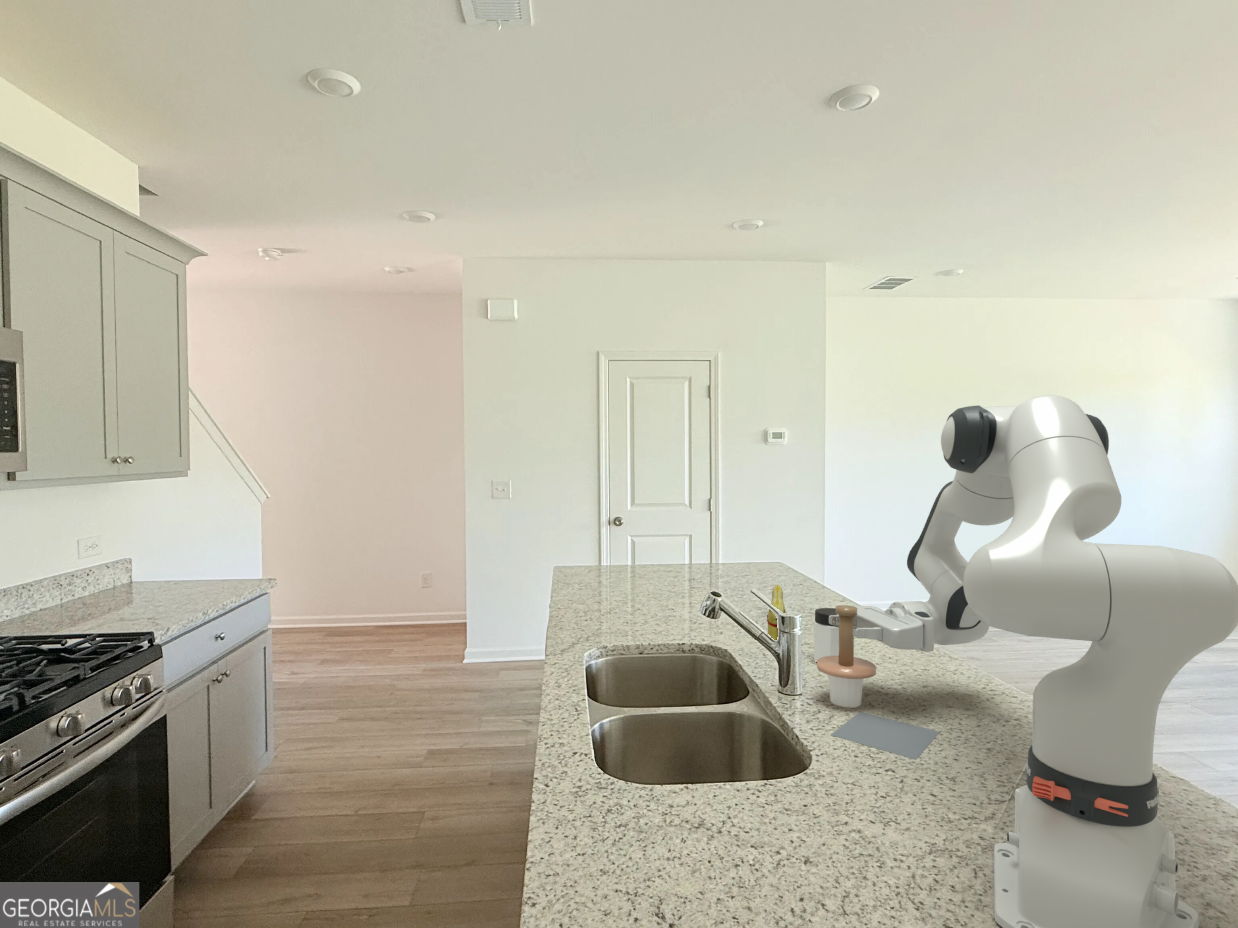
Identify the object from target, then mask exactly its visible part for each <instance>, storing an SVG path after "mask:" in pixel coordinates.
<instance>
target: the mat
mask: <svg viewBox="0 0 1238 928" xmlns="http://www.w3.org/2000/svg"><path fill="white" fill-rule="evenodd" d="M940 733H941V731H939V730H934V729H931V728H927V727H922V726H919V725H914V724H912V723H908V722H907V723H906V722H903V721H900V720H895V719H891V718H887V717H884V716H879V715H876V714H871V713H867V712H864V711H862V710H861V711H859V712H857V713H856V714H855V715H854V716H853V717H851V718H849V719H848V721H846V722H845V723H843V725H841V726H840V727H839V728H837V729H836V730H835V731H833V732H832V733H831V734H830V736H833V737H836V738H837V739H838V738H840V739H842V740H846V741H849V742H851V743H852V742H853V743H856V744H860V745H864V746H867V747H870V748H873V749H878V750H881V751H884V752H887V753H890V754H895V755H899V756H901V757H905V758H908V759H912V760H914V761H915V760H917V759H918V758H919V757H920V756H921V754H923V752H924V751H925V750H926V749H927V748H928V747H929V745H930V744H931V743H932V742H933V741H934V740H935V739H936V738H937V737H938V736H939V734H940Z"/></svg>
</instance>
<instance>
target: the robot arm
mask: <svg viewBox="0 0 1238 928" xmlns="http://www.w3.org/2000/svg"><path fill="white" fill-rule="evenodd" d="M940 445H941V446H940V447H941V450H942V454H943V455H942V456H943V459H944V461H945V462H946V463H947V464H948V466H949V467H950V468H951V469H954V470H956V471H955V474H954V478H953V480H952V481H949V482H947V483H946V484H945V485H943V487H941V489H940V491H939V492H938V494H937V495H936V497H935V499H934V502H933V504H932V506H931V509H930V511H929V513H928V516H927V519H926V521H925V524H924V525H923V528H922V531H921V533H920V535H919V538H918V539H917V541H916V542H915V543H914V544H913V546H912V547H911V549H910V550H909V552H908V555H907V559H906V566H907V569H908V570H909V572H910V573H911V574H912V576H914V578H916V580H917V581H919V582H920V584H921V585H922V586H923V587H924V589H925V590H926V591H927V592H928V594H929V595H930V596H929V599H928V600H927V601H920V600H909V601H908V600H907V601H906V600H905V601H904V600H903V601H894V602H892V603H891V604H890V605H889V607H888V608H886V609H884V610H883V609H881V608H879V607H876V606H872V605H853V606H854V607H856V608H857V615H856V616H854V628H853V636H854V638H857V639H867V640H873V641H874V640H875V641H878V642H880V643H882V644H884V645H886V646H888V647H890V648H893V649H897V650H913V651H915V650H916V651H917V650H918V651H922V652H924V653H931V652H934V651H935V650H934V649H935V645H938V646H939V645H940V646H953V645H962V644H963V645H964V644H968V643H973V642H976V641H978V640H981V639H982V638H983V637H985V636H986V634H988V631H989V628H990V627H991V628H995V629H998V630H1001V631H1006V632H1009V633H1014V634H1018V635H1022V636H1026V637H1034V638H1035V637H1036V638H1047V639H1061V640H1072V641H1073V640H1075V641H1084V642H1085V641H1086V642H1091V643H1090V646H1089V648H1088V650H1087V651H1086V652H1085V653H1084V655H1083V656H1081V658H1079V659H1078V660H1077V661H1075V662H1073V663H1072V664H1069V665H1066V666H1063V667H1061V668H1057V669H1055V670H1051V671H1050V672H1048V673H1047V674H1046V675H1044V676H1043V677H1042V678H1041V679H1040V680H1039V682H1038V683H1037V684H1036V685H1035V688H1034V690H1033V693H1032V738H1031V739H1032V745H1031V746H1030V747H1029V748H1028V752H1027V758H1026V764H1025V765H1026V766H1025V771H1026V783H1025V785H1023V786H1021V787H1019V788H1016V789H1015V791H1014V793H1015V794H1014V831H1008V833H1006V835H1007V837H1006V838H1007V840H1006V842H998V843H996V844H994V847H993V854H992V855H993V857H992V858H993V859H992V860H993V901H994V902H993V905H994V906H993V907H994V909H993V911H994V912H993V913H994V920H995V922H996V923H997V924H998V925H999V926H1000V927H1002V928H1200V923H1201V922H1200V917H1199V916H1200V915H1199V913H1198V911H1196V910H1195V909H1194V908H1193V907H1192V906H1190V905H1188V904H1187V903H1186V902H1184V901H1183V900H1181V899H1179V891H1178V890H1177V889H1176V876H1177V874H1178V869H1179V862H1178V860H1176V847H1175V846H1176V842H1175V841H1176V839H1175V835H1174V834H1173V833H1172V832H1171V831H1170V830H1169V828H1167V827H1166V826H1165V825H1164V824H1163V823H1162V821H1161V820H1160V819H1159V817H1158V816H1157V815H1158V812H1159V806H1158V805H1159V800H1160V792H1159V787H1158V777H1157V776H1156V775H1155V773H1154V772H1153V765H1154V764H1153V763H1154V743H1155V734H1156V733H1155V732H1156V731H1155V730H1156V725H1157V724H1156V723H1157V715H1158V710H1159V707H1160V705H1161V702H1162V699H1163V696H1164V694H1165V693H1166V690H1167V689H1168V687H1169V685H1170V684H1171V682H1172V680H1173V679H1174V678H1175V677H1176V675H1177V674H1178V673H1179V672H1180V671H1181V670H1182V668H1183V667H1184V666H1186V664H1188V663H1189V662H1190V661H1191V660H1192V659H1194V658H1195V657H1196V656H1198V655H1199V654H1201V653H1203V652H1204V651H1206V650H1207V649H1210V648H1212V647H1213V646H1215V645H1217V644H1220V643H1222V642H1223V641H1225V640H1227V638H1228V637H1229V636H1230V635H1231V634H1232V633H1233V631H1235V630H1236V628H1237V625H1238V583H1237V581H1236V579H1235V577H1234V576H1233V575H1232V574H1231V572H1230V570H1228V568H1227V567H1226V566H1225V565H1224V564H1223V563H1221V562H1220V561H1219V560H1218V559H1217V558H1214V557H1213V556H1210V555H1207V554H1201V553H1197V552H1193V551H1189V550H1183V549H1178V548H1172V547H1167V546H1162V545H1143V544H1142V545H1140V544H1118V543H1096V542H1095V543H1093V542H1089V541H1088V542H1087V541H1085V540H1087V539H1090V538H1092V537H1094V536H1096V535H1098V534H1100V533H1101V532H1102V531H1103V530H1105V529H1106V528H1107V527H1109V526H1110V525H1111V524H1112V523H1113V522H1114V521H1115V520H1116V519H1117V517H1118V515H1119V513H1120V510H1121V507H1122V494H1121V490H1120V488H1119V486H1118V482H1117V481H1116V477H1115V474H1114V471H1113V469H1112V466H1111V462H1110V459H1109V457H1108V455H1109V446H1110V439H1109V432H1108V430H1107V427H1106V426H1105V424H1104V423H1103V422H1102V420H1101V419H1100V418H1099V417H1097V416H1094V415H1091V414H1088V413H1085V411H1084V410H1083V409H1082V408H1081V406H1080V405H1079V404H1078V403H1076V402H1075V401H1073V400H1071V399H1069V398H1068V397H1065V396H1061V395H1055V394H1048V395H1047V394H1046V395H1038V396H1035V397H1032V398H1029V399H1026V400H1025V401H1023V402H1021V403H1020V404H1019V405H1016V406H1015V405H1005V406H1004V405H1002V406H1001V405H999V406H981V405H969V406H963V407H959V408H957V409H955V410H954V411H952V412H951V413H950V414H949V415H948V417H947V419H946V422H945V424H944V425H943V428H942V431H941V436H940ZM1010 519H1011V522H1010V523H1009V525H1008V527H1007V528H1006V530H1004V531H1003V533H1002V534H1000V535H999V536H997V538H995V539H994V540H992V541H991V542H988V543H986V544H984V545H982V546H981V547H979V548H978V549H977V550H976V551H975V552H974V553H973V555H972V556H971V558H970V559H969V561H968V560H967V559H966V558H965V557H964V556H963V555H962V553H961V552H960V551H959V548H958V547H957V545H956V542H955V538H956V537H957V534H958V531H959V529H960V528H961V525H962V523H963V522H964V523H967V524H970V525H974V526H975V525H976V526H985V527H986V526H996V525H998V524H999V525H1000V524H1002V523H1005V522H1007V521H1009V520H1010ZM829 624H831V625H834V626H839V615H830V616H829Z"/></svg>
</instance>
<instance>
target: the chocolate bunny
mask: <svg viewBox="0 0 1238 928" xmlns="http://www.w3.org/2000/svg"><path fill="white" fill-rule="evenodd" d="M771 604H772V605H773V606H774V607H776V608H777V609H779V610H780V611H782V612H783V613H786V614H787V611H786V606H785V603H784V592H783V589H782V586H780V585H779V584H776V585H775V586H774V587H773V589H772V591H771V602H770V605H771ZM766 621H767V635H768V634H769V635H770V636H771V638H773V639H774V640H777V637H778V628H777V618H776V616H775V614H774V613H773V612H772V611H771V610H770V609H768V613H767V616H766Z"/></svg>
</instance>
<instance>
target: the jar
mask: <svg viewBox="0 0 1238 928" xmlns="http://www.w3.org/2000/svg"><path fill="white" fill-rule="evenodd" d="M830 615H838V614H836V607H822V608H821V607H820V608H817V609H815V610H814V631H813V632H814V635H813V637H814V640H813V641H814V642H813V643H814V645H813V646H814V648H813V653H814V654H813V655H814V656H813V662H814V661H816V662H817V660H818V659H819V658H822V657H826V656H839V626H834V625H831V624H829V616H830ZM816 662H815V663H816Z"/></svg>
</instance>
